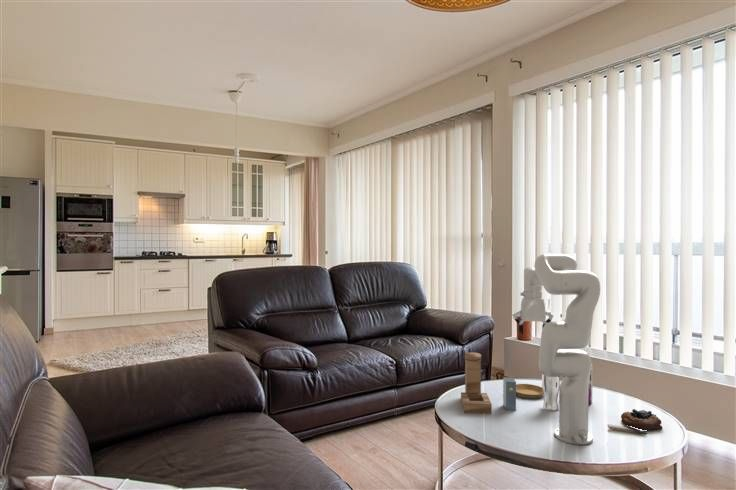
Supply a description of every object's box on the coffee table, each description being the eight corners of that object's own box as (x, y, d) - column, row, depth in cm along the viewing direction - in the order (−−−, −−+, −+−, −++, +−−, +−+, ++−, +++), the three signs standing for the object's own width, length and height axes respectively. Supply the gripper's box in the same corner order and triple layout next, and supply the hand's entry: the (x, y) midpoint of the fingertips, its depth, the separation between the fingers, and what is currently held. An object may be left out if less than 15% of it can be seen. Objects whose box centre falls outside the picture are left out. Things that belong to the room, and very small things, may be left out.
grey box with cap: (516, 411, 191) (516, 382, 190) (506, 411, 191) (506, 382, 191) (512, 405, 197) (512, 377, 197) (503, 405, 198) (503, 377, 198)
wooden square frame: (491, 413, 189) (491, 364, 188) (464, 412, 190) (463, 364, 189) (484, 396, 208) (484, 352, 208) (459, 396, 209) (459, 352, 209)
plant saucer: (538, 388, 219) (538, 383, 219) (551, 400, 204) (551, 394, 204) (507, 389, 219) (507, 384, 218) (518, 400, 204) (518, 394, 204)
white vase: (556, 405, 197) (556, 370, 197) (561, 411, 190) (561, 375, 190) (539, 404, 198) (539, 370, 197) (544, 411, 191) (544, 375, 191)
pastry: (666, 430, 172) (666, 414, 172) (638, 433, 170) (638, 417, 169) (643, 419, 183) (643, 404, 183) (616, 421, 180) (616, 406, 180)
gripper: (514, 296, 203) (514, 335, 204) (555, 296, 201) (555, 335, 202) (511, 294, 211) (511, 331, 211) (550, 294, 209) (550, 332, 209)
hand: (532, 333), depth 206 cm, fingers open, 9 cm apart
